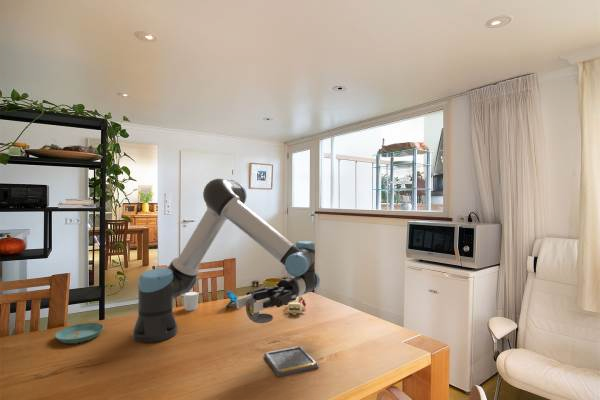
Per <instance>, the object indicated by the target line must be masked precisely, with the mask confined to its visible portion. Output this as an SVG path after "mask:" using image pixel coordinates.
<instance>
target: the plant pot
mask: <svg viewBox="0 0 600 400" xmlns="http://www.w3.org/2000/svg"><path fill="white" fill-rule="evenodd" d="M281 280H283V278H280V277H267V278H264V279H263V280H262V287H264V286H267V288H272V287H274V286H276V285H277V284H278V282H279V281H281Z"/></svg>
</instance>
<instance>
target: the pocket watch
mask: <svg viewBox="0 0 600 400" xmlns="http://www.w3.org/2000/svg"><path fill="white" fill-rule="evenodd" d="M249 291H252V290H249ZM252 292H253V291H252ZM250 294H251V292H250ZM251 296H252V298H249V299H248V300H247V302H246V306H245V313H246V315H247V317H248V318H249V320H250V321H252V322H253V323H255V324H266V323H270V322H272V321H273V320H274V316H273V315H272V314H269V313H260V311H259V312H257V313H254V303H255V302H257V301H256V300H255V299H254V298H253V296H254V292H253V293H252V294H251Z"/></svg>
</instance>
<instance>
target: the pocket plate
mask: <svg viewBox="0 0 600 400" xmlns="http://www.w3.org/2000/svg"><path fill="white" fill-rule="evenodd" d="M263 357H264V359H265V360H266V362H267V364H268V365H269V367H270V368H271V369H272V370H273V372H274V373H275V375H276V377H277V378H279V377H283V376H284V377H285V376H288V375H293V374H297V373H302V372H306V371H311V370H314V369H318V368H319V363H318V362H317V361H316V360H315V359H314V358H313V357H312V356H311V355H310V354H309V353H308V351H306V350H305V348H303V347H302V346H301V345H299V346H293V347H288V348H283V349H277V350H272V351H267V352H265V353H263Z"/></svg>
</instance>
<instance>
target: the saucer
mask: <svg viewBox="0 0 600 400" xmlns="http://www.w3.org/2000/svg"><path fill="white" fill-rule="evenodd" d="M104 328H105V325H104V324H102V323H100V322H99V323H98V322H84V323H79V324H78V323H77V324H75V325H70V326H67V327H65V328H63V329H60V330H58V331H57V332H56V333H55V335H54V337H55V338H56V339H57V341H60V342H61V343H63V344H67V343H74V344H78V343H79V342H80V343H84V341H85V342H88V341H90V339H91V340H93V339H94V337H95V338H96V337H98V336H99V335H100V334H101V332H102V331H103V330H104ZM78 331H79V334H78V335H75V334H71V333H74V332H78ZM76 336H77V338H73V337H76ZM92 338H93V339H92ZM87 340H88V341H87Z"/></svg>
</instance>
